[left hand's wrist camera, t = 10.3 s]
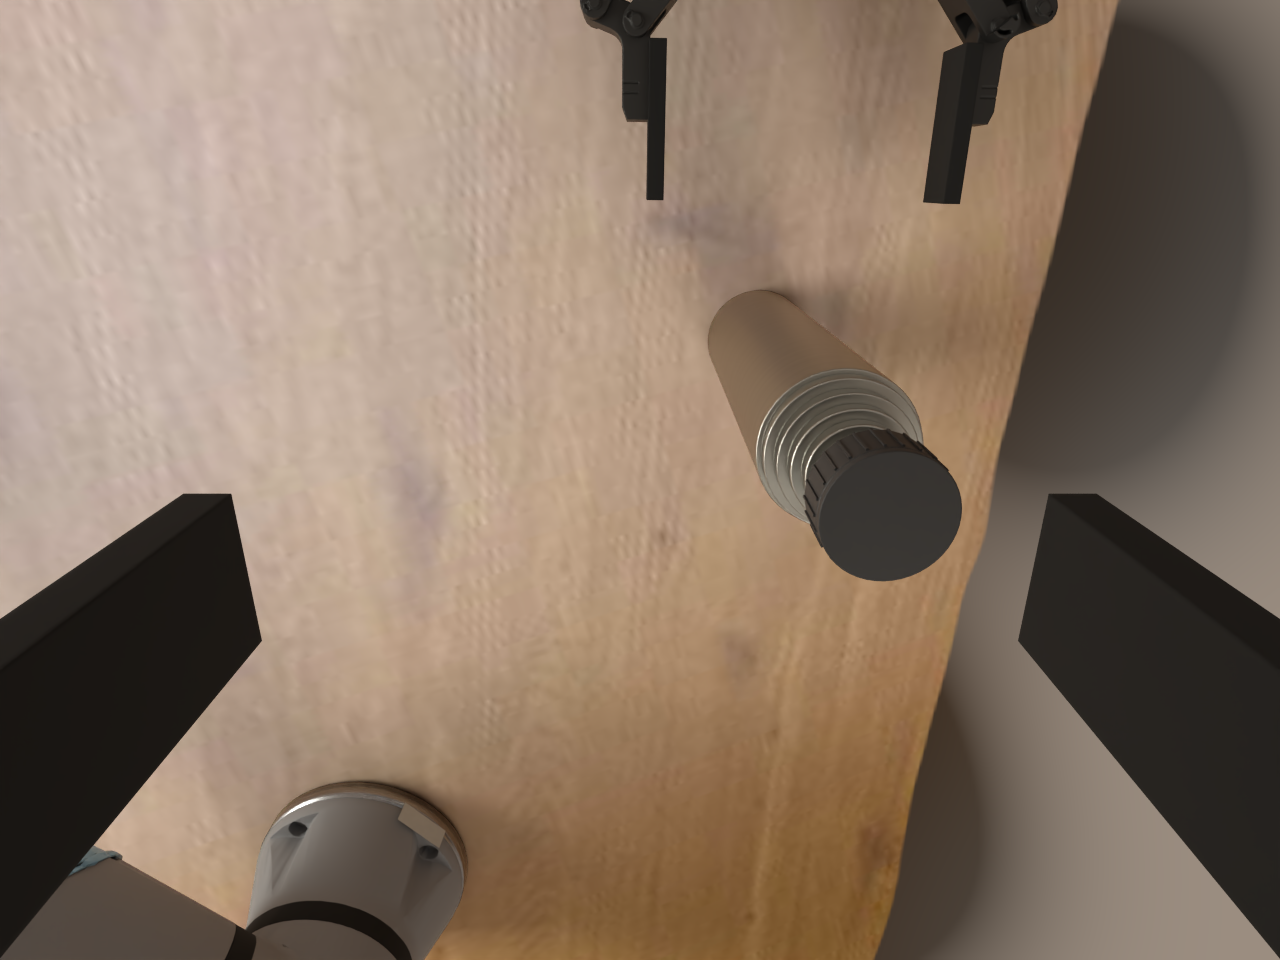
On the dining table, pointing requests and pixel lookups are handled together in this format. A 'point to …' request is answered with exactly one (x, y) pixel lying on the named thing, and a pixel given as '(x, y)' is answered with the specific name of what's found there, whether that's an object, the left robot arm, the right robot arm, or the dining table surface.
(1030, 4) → the right robot arm
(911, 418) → the bottle
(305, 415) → the dining table surface
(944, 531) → the cap
